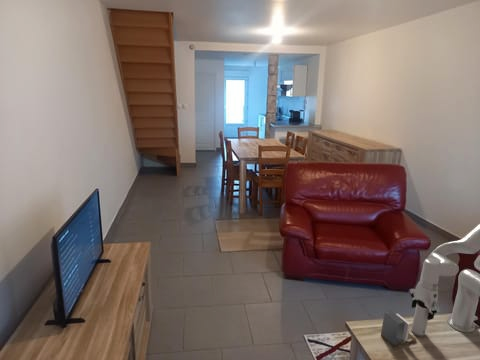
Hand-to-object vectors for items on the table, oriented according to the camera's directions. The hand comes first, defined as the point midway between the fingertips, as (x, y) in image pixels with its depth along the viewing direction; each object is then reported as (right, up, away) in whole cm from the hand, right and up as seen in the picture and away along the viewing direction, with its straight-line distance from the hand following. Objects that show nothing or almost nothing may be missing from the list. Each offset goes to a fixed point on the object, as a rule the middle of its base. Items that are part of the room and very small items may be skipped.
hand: (421, 313), depth 174 cm
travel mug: (0, -11, +4) cm, 12 cm away
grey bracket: (-12, -12, -1) cm, 18 cm away
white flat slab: (-12, -11, -2) cm, 16 cm away
